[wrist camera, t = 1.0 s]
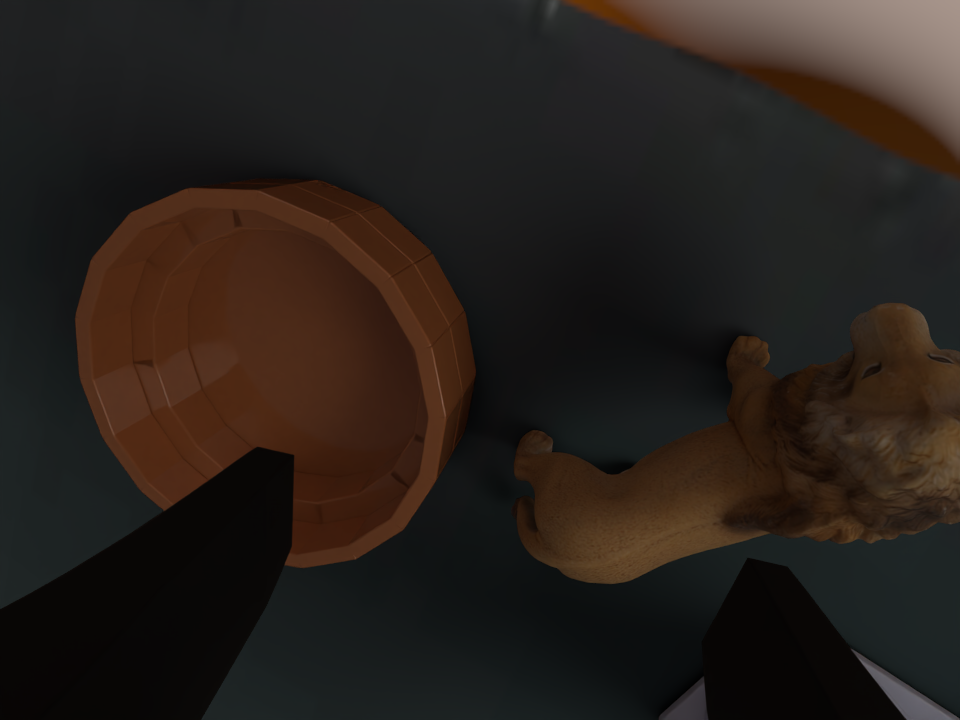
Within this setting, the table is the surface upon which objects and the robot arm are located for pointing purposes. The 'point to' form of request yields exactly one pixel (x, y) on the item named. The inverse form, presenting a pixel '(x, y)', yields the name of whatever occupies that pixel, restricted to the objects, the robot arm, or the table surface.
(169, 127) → the table surface
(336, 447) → the bowl
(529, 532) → the lion figurine
